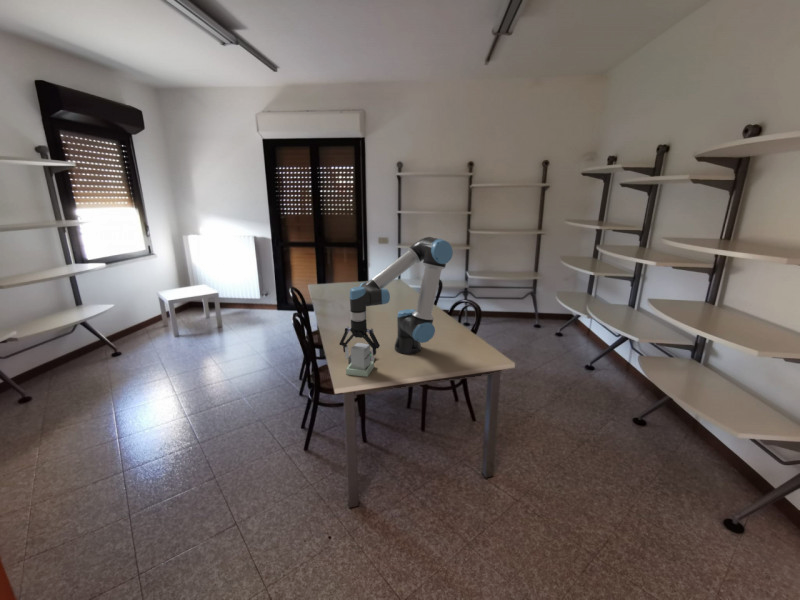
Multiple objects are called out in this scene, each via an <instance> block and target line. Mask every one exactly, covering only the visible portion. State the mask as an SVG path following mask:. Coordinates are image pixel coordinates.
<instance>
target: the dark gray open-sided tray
mask: <svg viewBox="0 0 800 600" xmlns="http://www.w3.org/2000/svg"><path fill="white" fill-rule="evenodd" d="M347 360H348V365H350V363H351V354H349V357H348V359H347ZM370 361H371V350H370Z"/></svg>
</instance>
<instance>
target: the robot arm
mask: <svg viewBox="0 0 800 600" xmlns="http://www.w3.org/2000/svg"><path fill="white" fill-rule="evenodd" d="M453 251H454V250H453V247H452V245H451V244H450V242H449V241H447V240H445V239H442V238H437V237H431V236H427V237H424V238H421V239H419V240H417V241H416V242H415V243H413V244H412V245H411V246H410V247H408V248H407V250H406V252H405V253H404V254H402V255H401V256H399V257H398V258H397V259H395V260H394V261H393V262H392V263H391V264H389V265H388V266H386V268H384V269H382V271H380V272H379V273H378V274H377V275H375V276H374V277H372V278H371V279H370V280H369V281H367V282H365V281H364V282H361V283H360V284H359V285H358V286H354V287H351V288H350V290H349V308H350V313H349V314H350V327H349V326H346V327H345V328H344V333H343V335H342V337H341V340H340V342H339V344H338V345H339V346H342V347H343V349H342V350H343V353H344V354H345V357H344V358H345V360H348V357H349V356H350V353H349V352H350V351H349V344H348V343H350V341H351V340H352V339H354V337H355V338H356V339H357V338H358V339H359V338H360V339H364V341H365V342H367V344H369V345H370V351H371V362H373V361H375V356H376V355H377V350H378V349H379V348H380V343H379V341H378V339H377V337H376V335H375V333H374V329H373V328H370V329H369V328H368V327H367V307H373V306H381V305H386V304H389V302H390V301H391V300H390V299H391V295H390V292H389V290H388V288H386V287H387V286H388V285H389V284H391V283H392V282H394V280H396V279H397V278H398V277H400V276H401V275H402V274H403V273H404V272H406V271H407V270H409V269H410V268H411V267H413V266H414V265H415V264H416V263H417V264H419V263H421V262H422V264H423V265H424V271H423V276H422V280H421V285H420V289H419V294H418V298H417V303H416V307H415V309H414V308H413V309H412V308H409V309H408V308H407V309H401V310H399V311H398V312H397V317H396V318H397V322H396V323H397V324H396V325H397V337H396V340H395V343H394V350H395V351H396V352H397V353H398V354H404V355H412V354H417V353H419V352H421V350H422V344H423V343H428V342H429V341H430V340H431V339H432V338H433V337H434V336H435V333H436V327H435V326H434V324H433V323H434V317H433V311H434V310H433V309H434V306H435V305H434V304H435V301H436V296H437V292H438V289H439V288H438V287H439V283H440V279H441V274H442V271H443V270H444V269H445V268H446V264H448V263H449V262H450V261H451V260H452V258H453V254H454V253H453ZM350 332H351V335H350V336H349V338H347V340H346V337H347V336H348V333H350ZM369 336H370V337H369ZM345 340H346V341H345ZM421 343H422V344H421Z"/></svg>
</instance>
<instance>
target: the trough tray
mask: <svg viewBox="0 0 800 600" xmlns="http://www.w3.org/2000/svg"><path fill="white" fill-rule="evenodd" d="M374 361H375V360H374ZM374 361H373V362H371V361H370V365H369V367H368V368H367V370H359V369H352V368H351V363H350V364H348V365H347V367H346V369H345V374H346V375H347V376H356V377H366V378H368V377H369V375H370V374H371V372H372V371H373V369H374V368H375V362H374Z"/></svg>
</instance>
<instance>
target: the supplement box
mask: <svg viewBox="0 0 800 600" xmlns="http://www.w3.org/2000/svg"><path fill="white" fill-rule="evenodd" d="M370 351H371V346H370V345H369V344H368V343H361V342H356V343H355V344H354V345H352V346H351V347H350V355H351V368H352V369H359V370H367V368H368V367H369V365H370Z"/></svg>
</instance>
